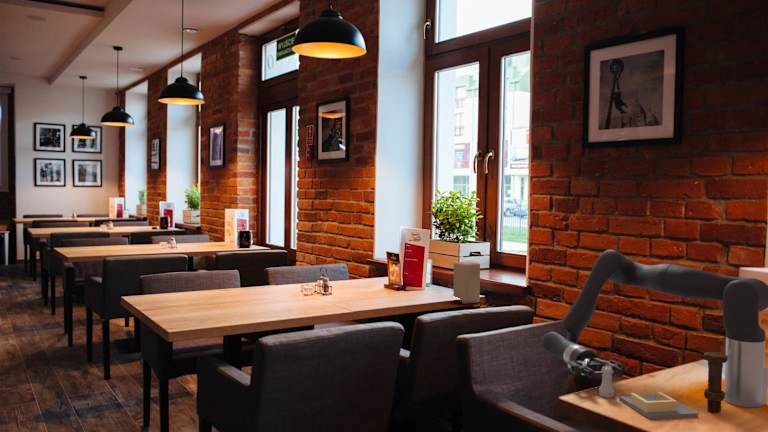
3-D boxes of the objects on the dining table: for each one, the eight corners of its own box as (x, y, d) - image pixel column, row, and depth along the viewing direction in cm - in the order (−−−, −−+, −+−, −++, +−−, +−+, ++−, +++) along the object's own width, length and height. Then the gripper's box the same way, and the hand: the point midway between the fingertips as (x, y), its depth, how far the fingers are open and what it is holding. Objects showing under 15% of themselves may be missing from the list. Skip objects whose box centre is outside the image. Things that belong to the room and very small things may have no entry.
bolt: (730, 414, 164) (732, 355, 164) (716, 416, 163) (718, 357, 162) (711, 407, 170) (713, 350, 169) (697, 409, 168) (698, 352, 167)
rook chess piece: (594, 394, 180) (595, 365, 180) (607, 392, 182) (608, 364, 181) (605, 399, 176) (606, 369, 176) (618, 397, 178) (619, 368, 177)
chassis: (663, 398, 177) (663, 385, 177) (698, 417, 162) (698, 403, 162) (619, 400, 175) (619, 387, 175) (649, 419, 160) (650, 405, 160)
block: (480, 302, 326) (481, 263, 325) (464, 304, 321) (465, 264, 320) (468, 299, 335) (468, 261, 334) (452, 301, 330) (453, 262, 329)
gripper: (558, 347, 194) (582, 361, 178) (603, 345, 196) (631, 359, 180) (557, 372, 194) (582, 388, 178) (602, 370, 196) (630, 386, 180)
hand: (606, 373), depth 179 cm, fingers open, 8 cm apart
